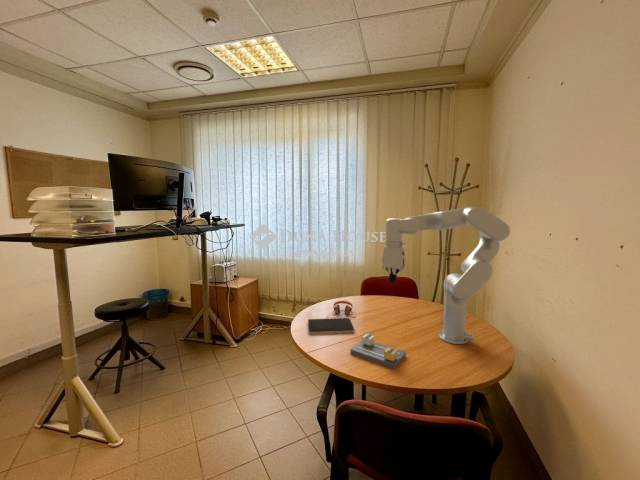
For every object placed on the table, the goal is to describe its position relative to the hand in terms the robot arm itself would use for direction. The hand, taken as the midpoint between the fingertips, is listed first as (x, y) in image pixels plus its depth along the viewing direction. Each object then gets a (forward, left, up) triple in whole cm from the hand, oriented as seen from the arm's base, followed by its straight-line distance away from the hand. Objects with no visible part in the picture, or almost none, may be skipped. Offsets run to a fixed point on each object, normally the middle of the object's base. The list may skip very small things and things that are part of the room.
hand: (392, 282), depth 137 cm
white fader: (+3, +18, -25) cm, 31 cm away
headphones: (+35, -9, -28) cm, 46 cm away
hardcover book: (+30, +10, -28) cm, 42 cm away
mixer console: (-3, +21, -27) cm, 34 cm away
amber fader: (-10, +24, -25) cm, 36 cm away
